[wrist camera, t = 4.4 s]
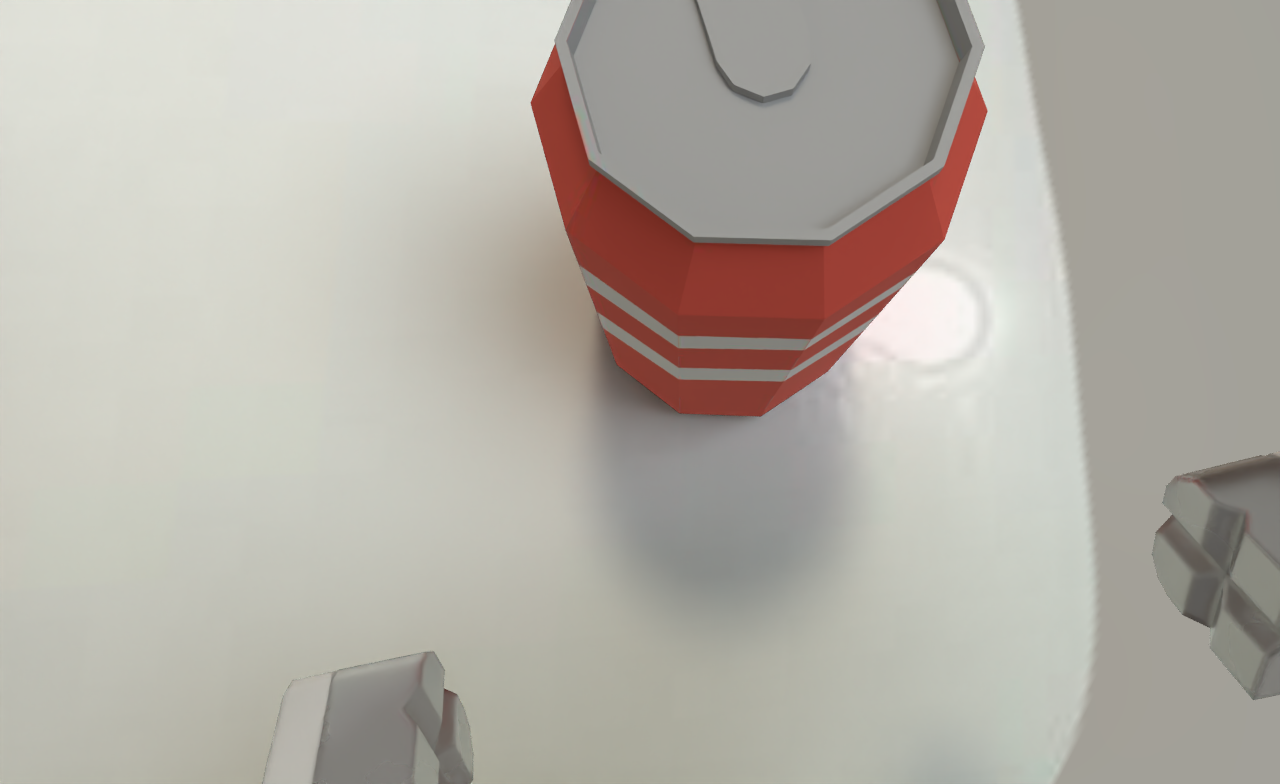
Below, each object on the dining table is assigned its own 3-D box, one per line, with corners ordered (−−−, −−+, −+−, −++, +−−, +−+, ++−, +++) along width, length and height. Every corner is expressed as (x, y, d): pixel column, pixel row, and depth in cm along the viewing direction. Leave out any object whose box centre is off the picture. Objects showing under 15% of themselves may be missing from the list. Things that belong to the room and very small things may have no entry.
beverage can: (799, 157, 23) (922, -241, 11) (874, 387, 22) (1098, 214, 10) (576, 220, 23) (467, -112, 11) (641, 452, 22) (595, 356, 10)
